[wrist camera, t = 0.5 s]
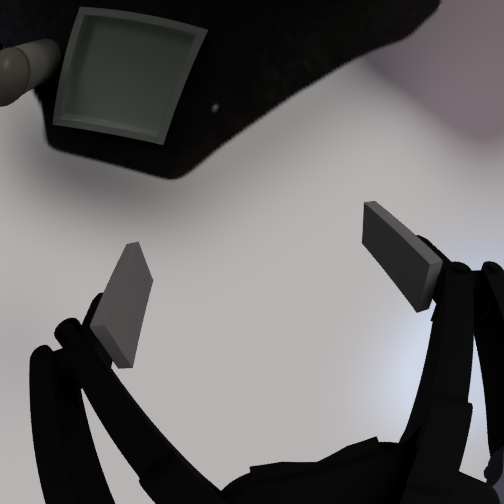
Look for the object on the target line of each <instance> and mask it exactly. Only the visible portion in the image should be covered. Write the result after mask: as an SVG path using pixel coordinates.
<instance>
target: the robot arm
mask: <svg viewBox="0 0 504 504" xmlns="http://www.w3.org/2000/svg"><path fill="white" fill-rule="evenodd" d="M363 218H364V219H363V236H362V244H363V245H364V246H365V247H366V248H367V250H368V251H369V252H370V253H371V254H372V255H373V257H374V258H375V259H376V261H377V262H378V263H379V264H380V265H381V266H382V268H383V269H384V270H385V272H386V273H387V274H388V275H389V277H390V278H391V279H392V280H393V282H394V283H395V284H396V286H397V287H398V288H399V290H400V291H401V292H402V293H403V295H404V296H405V297H406V299H407V300H408V301H409V303H410V304H411V306H412V307H413V308H414V310H415V311H416V312H417V313H418V312H421V311H423V310H427V309H429V306H430V304H431V301H432V299H433V300H434V301H435V303H436V306H435V310H434V312H433V315H432V318H431V321H433V323H432V329H431V334H430V340H429V345H428V350H427V355H426V359H425V364H424V368H423V372H422V376H421V380H420V384H419V388H418V391H417V395H416V398H415V402H414V405H413V408H412V412H411V415H410V418H409V421H408V424H407V426H406V429H405V431H404V433H403V435H402V437H401V439H400V441H399V443H393V442H378V439H377V437H373V438H370V439H367V440H365V441H362V442H359V443H355V444H352V445H349V446H346V447H345V448H343V449H341V450H339V451H338V452H336V453H334V454H332V455H330V456H328V457H326V458H324V459H322V460H320V461H318V462H278V463H272V464H265V465H259V466H251V467H250V473H248V474H245V475H243V476H241V477H239V478H237V479H235V480H234V481H232V482H231V483H229V484H228V485H227V486H226V487H225V488H224V489H223V490H222V491H220V490H219V489H218V488H217V487H216V486H215V485H213V484H212V483H211V482H210V481H208V480H207V479H206V478H205V477H204V476H203V475H202V474H201V473H200V472H199V471H197V470H196V469H195V468H194V467H193V466H192V465H191V464H190V463H189V462H188V461H187V460H186V459H185V458H184V457H183V456H182V455H181V453H180V452H179V451H178V450H177V449H176V448H175V447H174V446H173V445H172V444H171V443H170V442H169V441H168V440H167V438H166V437H165V436H164V435H163V434H162V433H161V432H160V431H159V429H158V428H157V427H156V426H155V425H154V424H153V422H152V421H151V420H150V419H149V418H148V416H147V415H146V414H145V413H144V412H143V410H142V409H141V408H140V407H139V405H138V404H137V403H136V401H135V400H134V399H133V397H132V396H131V395H130V393H129V392H128V391H127V389H126V388H125V387H124V385H123V384H122V383H121V381H120V380H119V378H118V377H117V375H116V374H115V373H114V371H113V370H112V369H111V365H112V361H113V362H114V363H115V365H116V366H117V367H118V368H133V364H134V359H135V354H136V350H137V345H138V340H139V336H140V331H141V327H142V322H143V318H144V314H145V310H146V306H147V302H148V298H149V294H150V291H151V287H152V283H153V279H152V277H151V274H150V271H149V269H148V266H147V263H146V261H145V258H144V255H143V253H142V250H141V247H140V244H139V242H135V243H130V244H127V245H126V247H125V249H124V251H123V253H122V255H121V257H120V259H119V261H118V263H117V265H116V267H115V269H114V271H113V273H112V276H111V278H110V280H109V282H108V284H107V287H106V289H105V291H104V292H103V293H99V294H98V295H97V296H96V297H95V298H94V300H92V303H91V305H90V307H89V308H90V309H88V312H87V315H86V316H85V318H84V321H83V323H82V325H81V324H80V322H79V321H78V320H77V319H76V318H68V319H66V320H64V321H62V322H61V323H60V324H59V325H58V326H57V327H56V329H55V332H54V336H55V338H56V339H57V341H58V342H59V343H60V345H61V346H62V347H63V348H62V349H59V350H56V351H52V349H51V348H50V347H49V346H48V345H42V346H39V347H38V348H36V349H35V350H34V351H33V353H32V355H31V357H30V371H29V372H30V373H29V385H30V386H29V387H30V412H31V424H32V434H33V442H34V450H35V457H36V463H37V468H38V473H39V478H40V483H41V487H42V491H43V496H44V499H45V503H46V504H115V502H114V499H113V497H112V495H111V492H110V490H109V487H108V484H107V482H106V479H105V476H104V473H103V471H102V468H101V465H100V462H99V459H98V456H97V452H96V449H95V446H94V443H93V439H92V436H91V432H90V428H89V424H88V420H87V416H86V412H85V407H84V403H83V399H82V393H81V389H82V388H83V390H84V392H85V394H86V396H87V398H88V400H89V401H90V403H91V405H92V407H93V409H94V411H95V412H96V414H97V416H98V417H99V419H100V420H101V422H102V424H103V426H104V427H105V429H106V430H107V432H108V434H109V435H110V437H111V438H112V440H113V441H114V443H115V444H116V446H117V447H118V449H119V450H120V451H121V453H122V455H123V456H124V457H125V459H126V460H127V462H128V463H129V464H130V466H131V467H132V468H133V470H134V471H135V472H136V474H137V475H138V476H139V478H140V479H139V483H140V485H141V486H142V488H143V489H144V490H145V492H146V493H147V494H148V495H149V497H150V498H151V499H152V500H153V501H154V502H155V504H504V270H503V269H502V267H501V266H500V265H498V264H497V263H495V262H491V261H488V262H484V263H483V266H482V269H481V270H478V271H471V269H470V268H469V267H468V266H467V265H466V264H464V263H461V262H451V261H450V260H449V259H448V258H447V257H446V256H445V255H444V254H442V252H441V251H440V250H437V248H436V247H435V246H434V245H432V243H431V242H430V241H428V240H427V239H426V238H424V237H422V236H420V235H415V234H414V233H412V232H411V231H410V230H409V229H408V228H407V227H406V226H404V225H403V224H402V223H401V222H400V221H399V220H397V219H396V218H395V217H394V216H392V214H390V213H389V212H388V211H387V210H385V209H384V208H383V207H382V206H381V205H379V204H378V203H377V202H375V201H371V202H364V217H363ZM474 337H475V341H476V346H477V351H478V356H479V361H480V367H481V373H482V380H483V387H484V395H485V405H486V415H487V416H486V417H487V434H488V445H489V451H490V457H491V458H490V460H489V462H488V466H487V467H486V468H485V470H484V477H485V478H486V479H487V481H486V483H485V482H483V481H480V480H478V479H475V478H473V477H471V476H469V475H466V474H464V473H462V472H460V471H459V469H460V465H461V462H462V458H463V454H464V450H465V446H466V442H467V437H468V433H469V428H470V423H471V417H472V409H473V406H472V403H468V395H469V388H470V387H469V386H470V379H471V370H472V358H473V341H474Z"/></svg>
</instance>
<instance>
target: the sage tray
mask: <svg viewBox="0 0 504 504" xmlns="http://www.w3.org/2000/svg"><path fill="white" fill-rule="evenodd" d="M207 31H208V30H206V29H203V28H200V27H196V26H193V25H189V24H185V23H181V22H177V21H173V20H169V19H164V18H160V17H155V16H150V15H145V14H139V13H133V12H127V11H120V10H112V9H102V8H91V7H80V9H79V11H78V14H77V17H76V20H75V23H74V26H73V29H72V33H71V36H70V39H69V43H68V46H67V50H66V54H65V58H64V62H63V66H62V71H61V75H60V80H59V85H58V91H57V96H56V102H55V109H54V116H53V124H52V125H58V126H65V127H72V128H79V129H85V130H91V131H97V132H102V133H108V134H113V135H118V136H123V137H128V138H133V139H138V140H143V141H147V142H152V143H156V144H161V145H163V144H164V141H165V138H166V135H167V132H168V129H169V126H170V123H171V120H172V117H173V114H174V111H175V108H176V106H177V103H178V100H179V98H180V95H181V92H182V90H183V87H184V85H185V82H186V80H187V77H188V75H189V72H190V70H191V67H192V65H193V63H194V60H195V58H196V56H197V53H198V51H199V49H200V47H201V44H202V42H203V40H204V38H205V36H206V34H207Z"/></svg>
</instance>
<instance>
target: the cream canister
mask: <svg viewBox="0 0 504 504" xmlns="http://www.w3.org/2000/svg"><path fill="white" fill-rule="evenodd" d="M60 60H61V52H60V49H59V46H58V45H57V43H56V42H54V41H53V40H51V39H40V40H36V41H32V42H29V43H25V44H22V45H19V46H15V47H9V48H6V49H3V50H0V107H2V106H7V105H9V104H11V103H13V102H14V101H15V100H17V99H18V98H19V97H20V96H21V95H23V94H24V93H26V92H28V91H29V90H31V89H33V88H34V87H36V86H38V85H39V84H41V83H43V82H45V81H46V80H48V79H49V78H51V77H52V76H53V75H54V74H55V72H56V71H57V69H58V67H59V64H60Z"/></svg>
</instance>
